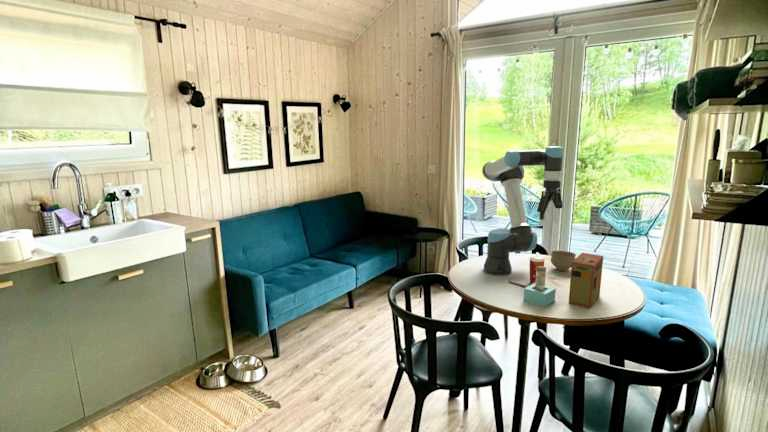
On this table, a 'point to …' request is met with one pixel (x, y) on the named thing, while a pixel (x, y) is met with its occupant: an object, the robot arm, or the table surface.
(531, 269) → the paper cup
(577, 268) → the box
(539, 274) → the wooden dowel roller
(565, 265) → the bowl
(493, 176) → the robot arm
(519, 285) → the brown wooden stick
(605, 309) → the table surface
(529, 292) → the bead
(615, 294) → the table surface
